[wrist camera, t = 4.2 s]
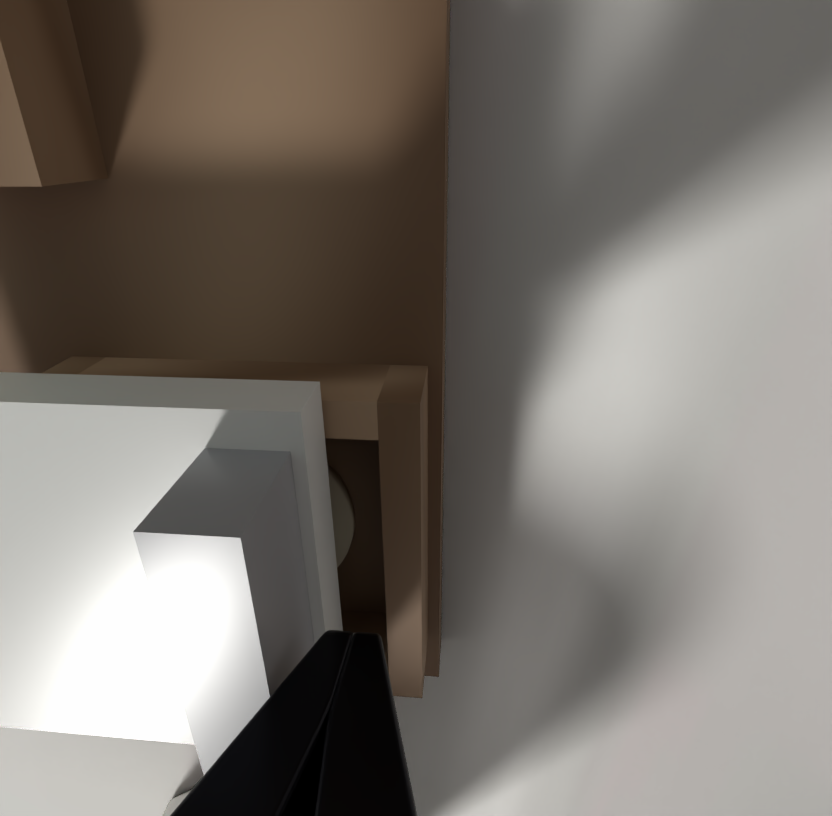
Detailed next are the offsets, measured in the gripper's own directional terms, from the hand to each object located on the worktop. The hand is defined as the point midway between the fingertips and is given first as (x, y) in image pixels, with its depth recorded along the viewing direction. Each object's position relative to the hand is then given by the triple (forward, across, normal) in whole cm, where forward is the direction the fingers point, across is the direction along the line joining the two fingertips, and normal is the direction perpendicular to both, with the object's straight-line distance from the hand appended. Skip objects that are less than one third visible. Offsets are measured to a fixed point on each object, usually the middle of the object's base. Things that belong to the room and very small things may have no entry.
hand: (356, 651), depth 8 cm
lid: (+2, +4, 0) cm, 5 cm away
